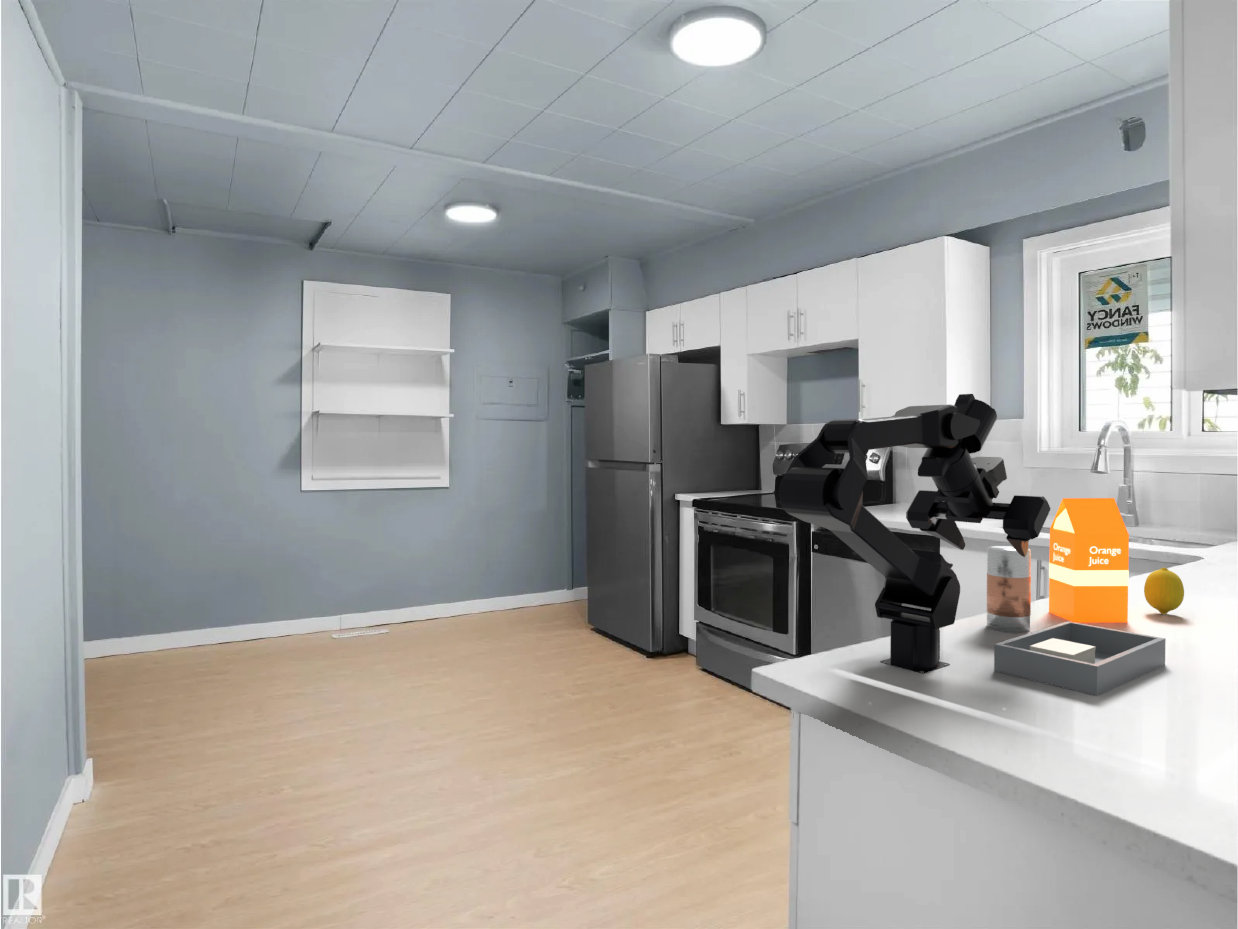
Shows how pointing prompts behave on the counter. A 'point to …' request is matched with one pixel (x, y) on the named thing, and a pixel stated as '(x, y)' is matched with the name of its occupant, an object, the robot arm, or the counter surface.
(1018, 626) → the steel tin
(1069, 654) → the cream smooth square block
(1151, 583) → the lemon
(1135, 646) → the grey rectangular tray
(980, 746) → the counter surface
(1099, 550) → the orange juice
